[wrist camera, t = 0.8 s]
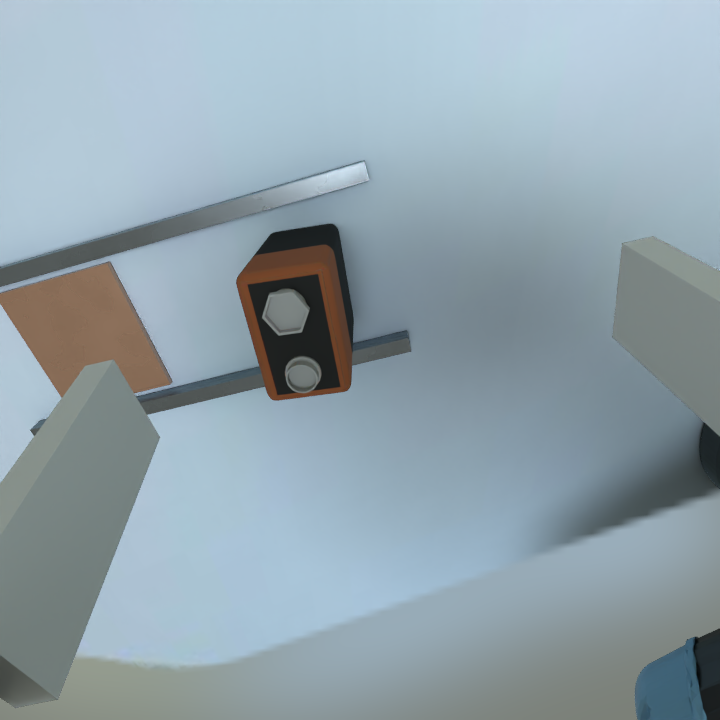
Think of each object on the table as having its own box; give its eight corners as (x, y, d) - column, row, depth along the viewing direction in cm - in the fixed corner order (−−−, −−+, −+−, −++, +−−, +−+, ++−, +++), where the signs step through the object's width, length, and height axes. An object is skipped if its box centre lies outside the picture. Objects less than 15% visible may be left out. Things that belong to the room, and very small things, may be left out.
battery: (337, 221, 29) (326, 267, 20) (355, 323, 32) (352, 403, 23) (267, 232, 29) (225, 282, 20) (291, 332, 32) (264, 415, 23)
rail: (409, 343, 32) (411, 351, 31) (47, 431, 36) (37, 440, 35) (364, 160, 27) (364, 161, 26) (-56, 283, 30) (-71, 289, 29)
